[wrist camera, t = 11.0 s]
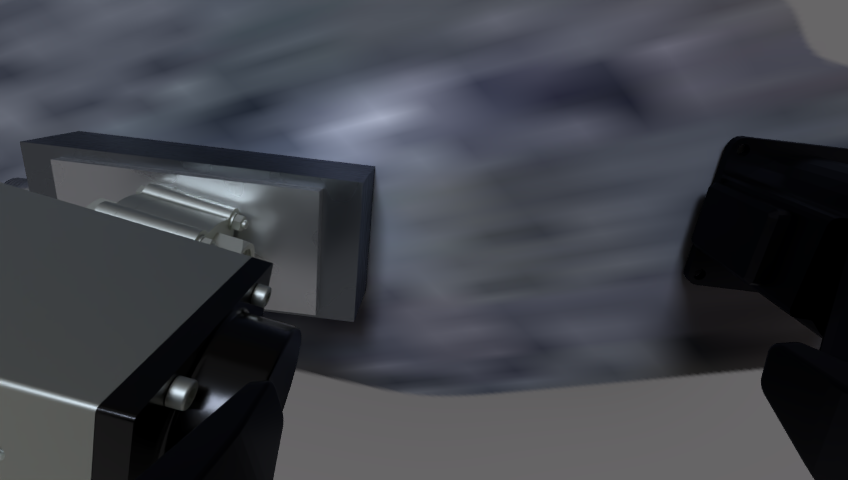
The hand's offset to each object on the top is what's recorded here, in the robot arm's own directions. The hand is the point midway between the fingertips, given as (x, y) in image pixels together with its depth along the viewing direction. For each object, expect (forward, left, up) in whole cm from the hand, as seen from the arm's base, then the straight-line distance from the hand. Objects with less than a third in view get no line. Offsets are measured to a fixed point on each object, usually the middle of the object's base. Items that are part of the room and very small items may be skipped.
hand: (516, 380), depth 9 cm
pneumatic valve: (+11, +2, -10) cm, 15 cm away
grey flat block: (+11, +2, -13) cm, 17 cm away
